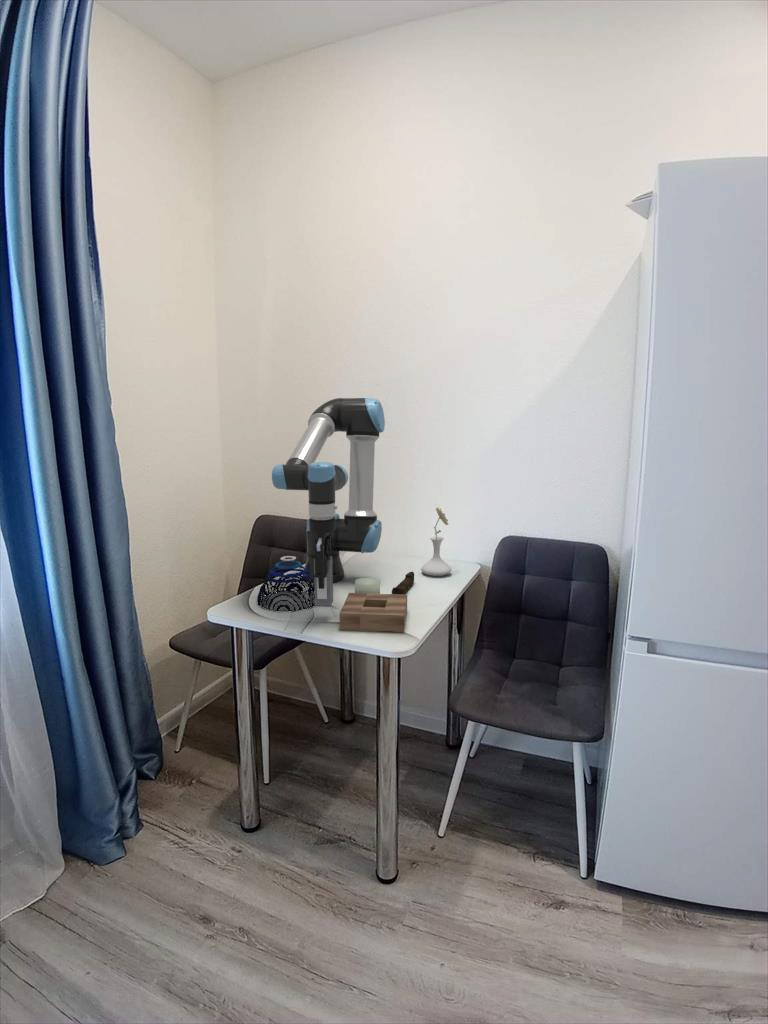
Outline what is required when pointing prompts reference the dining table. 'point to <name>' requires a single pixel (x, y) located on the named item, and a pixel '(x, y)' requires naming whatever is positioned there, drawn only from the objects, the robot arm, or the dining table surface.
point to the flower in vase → (437, 554)
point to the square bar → (329, 576)
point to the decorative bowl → (289, 587)
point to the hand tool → (404, 584)
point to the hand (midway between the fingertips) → (324, 595)
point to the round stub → (367, 585)
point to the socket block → (374, 612)
